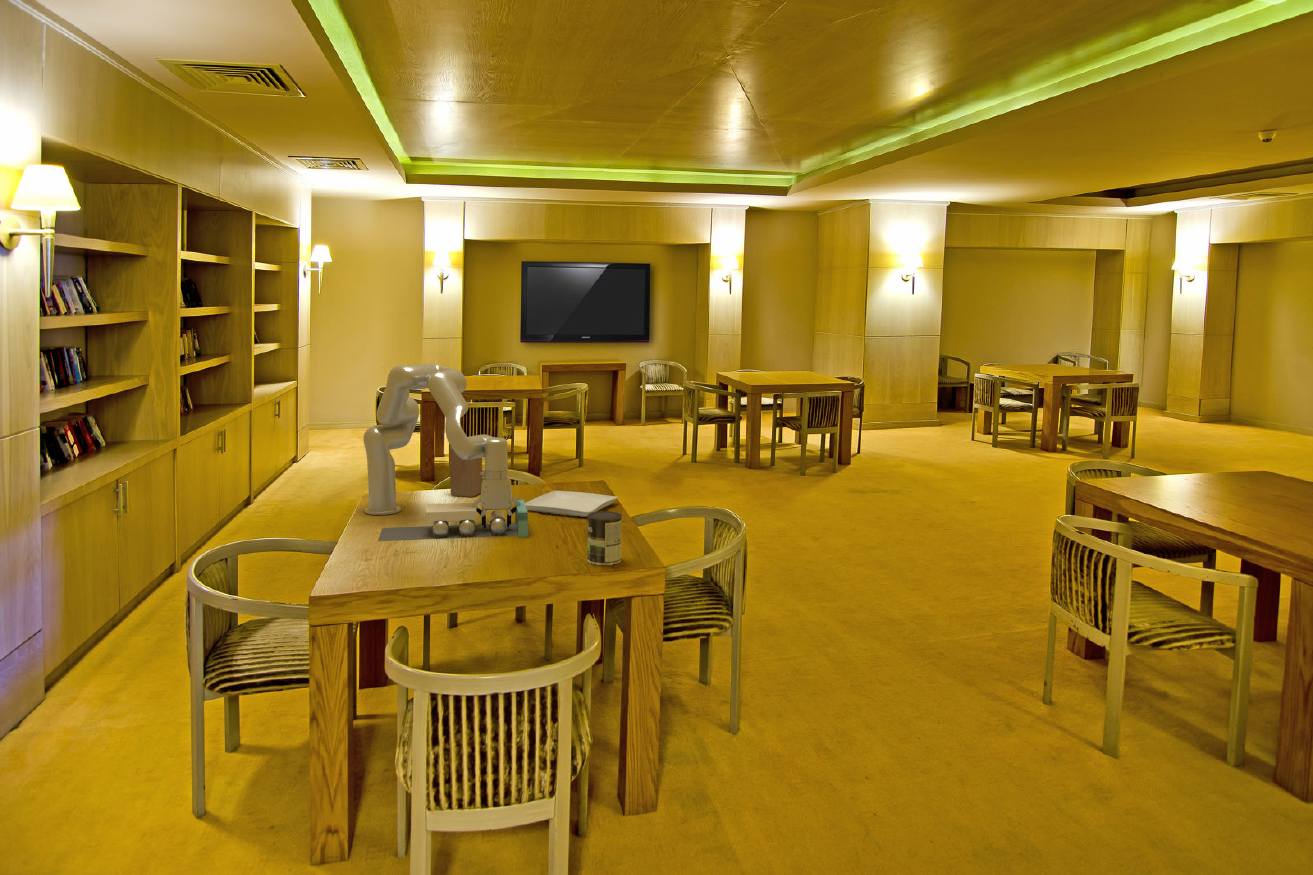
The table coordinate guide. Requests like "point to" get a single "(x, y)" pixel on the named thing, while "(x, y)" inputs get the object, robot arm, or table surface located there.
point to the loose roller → (497, 523)
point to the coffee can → (604, 538)
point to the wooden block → (465, 475)
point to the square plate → (570, 503)
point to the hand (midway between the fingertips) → (496, 526)
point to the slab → (450, 512)
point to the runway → (453, 532)
